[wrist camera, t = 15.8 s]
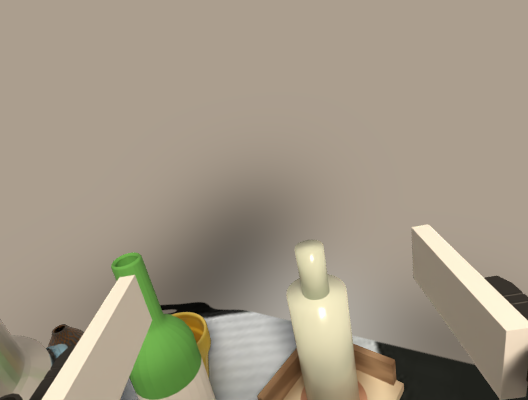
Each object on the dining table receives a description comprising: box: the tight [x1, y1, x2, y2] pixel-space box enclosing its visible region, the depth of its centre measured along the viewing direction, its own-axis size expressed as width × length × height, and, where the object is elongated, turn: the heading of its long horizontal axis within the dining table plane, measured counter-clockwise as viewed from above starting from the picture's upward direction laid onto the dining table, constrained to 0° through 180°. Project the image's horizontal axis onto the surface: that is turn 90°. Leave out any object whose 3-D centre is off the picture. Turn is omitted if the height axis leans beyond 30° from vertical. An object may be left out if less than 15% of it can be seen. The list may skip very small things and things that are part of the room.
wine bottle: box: [111, 253, 216, 400], centre depth 40 cm, size 8×8×30 cm
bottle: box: [286, 240, 360, 400], centre depth 44 cm, size 7×7×24 cm
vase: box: [48, 324, 84, 347], centre depth 64 cm, size 7×7×9 cm
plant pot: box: [172, 312, 211, 378], centre depth 55 cm, size 10×10×10 cm
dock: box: [257, 344, 404, 400], centre depth 48 cm, size 14×14×5 cm
